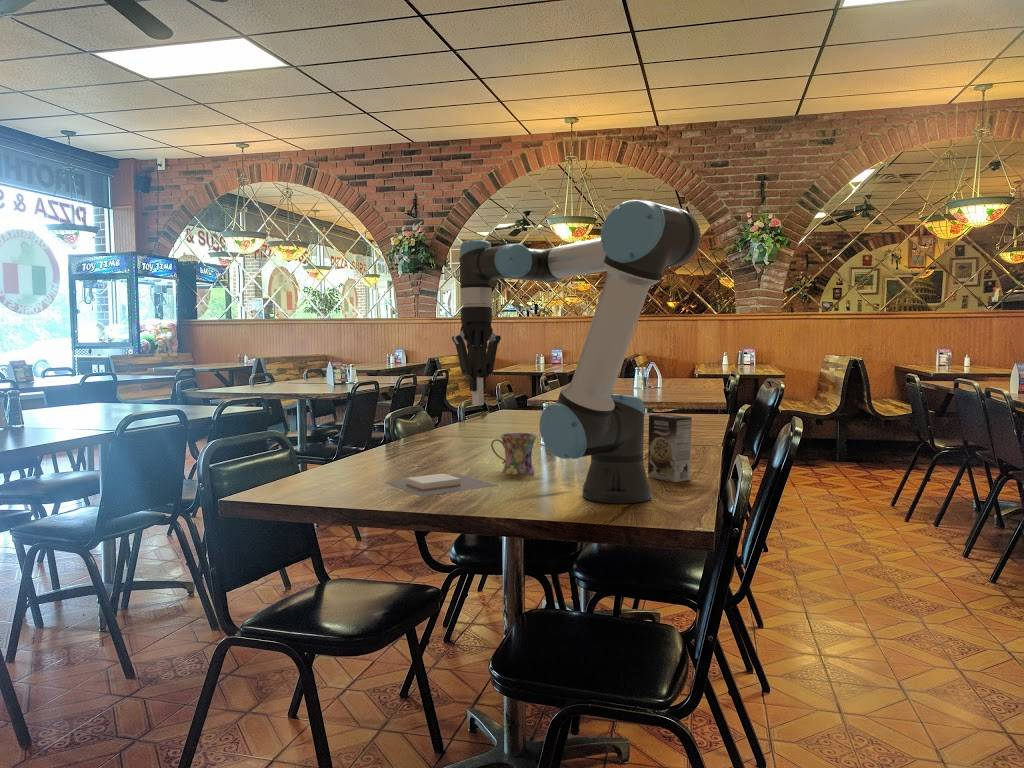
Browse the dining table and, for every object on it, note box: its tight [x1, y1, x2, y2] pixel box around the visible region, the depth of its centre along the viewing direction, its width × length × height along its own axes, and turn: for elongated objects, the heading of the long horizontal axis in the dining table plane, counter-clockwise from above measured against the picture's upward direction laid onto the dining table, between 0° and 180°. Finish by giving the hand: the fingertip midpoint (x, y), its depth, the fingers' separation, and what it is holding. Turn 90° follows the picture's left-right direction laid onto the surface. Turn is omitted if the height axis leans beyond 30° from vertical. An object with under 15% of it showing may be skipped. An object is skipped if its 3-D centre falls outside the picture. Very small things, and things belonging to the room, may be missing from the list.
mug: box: [490, 432, 537, 476], centre depth 189 cm, size 12×9×11 cm
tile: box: [405, 473, 461, 490], centre depth 171 cm, size 8×2×10 cm
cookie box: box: [647, 413, 693, 483], centre depth 186 cm, size 9×6×16 cm
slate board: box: [386, 473, 498, 497], centre depth 172 cm, size 18×20×1 cm
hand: (477, 404), depth 177 cm, fingers closed
